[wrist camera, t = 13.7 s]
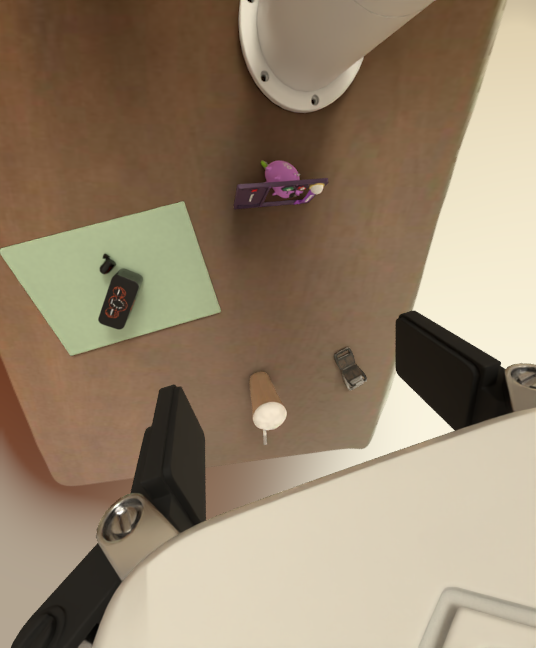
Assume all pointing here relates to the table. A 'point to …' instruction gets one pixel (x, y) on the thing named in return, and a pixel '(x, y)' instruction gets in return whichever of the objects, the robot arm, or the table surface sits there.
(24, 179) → the table surface
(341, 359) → the strap clip
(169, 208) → the desk mat
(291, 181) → the purple creature toy frame
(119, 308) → the wireless earbuds
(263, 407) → the milkshake
